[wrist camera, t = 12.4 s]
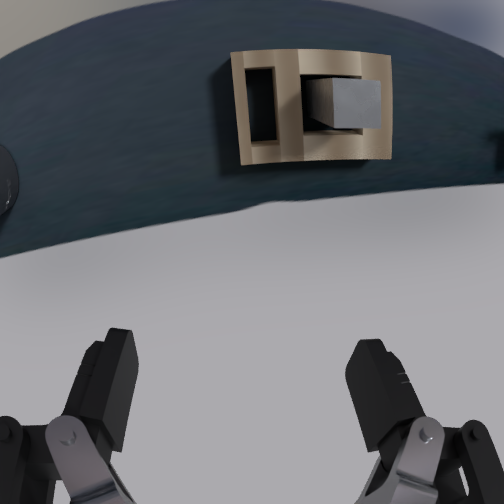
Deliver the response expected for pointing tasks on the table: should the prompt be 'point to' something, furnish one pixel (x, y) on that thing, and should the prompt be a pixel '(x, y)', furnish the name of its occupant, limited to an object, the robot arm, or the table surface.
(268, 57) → the holder
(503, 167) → the table surface
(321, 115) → the grey rectangular block
